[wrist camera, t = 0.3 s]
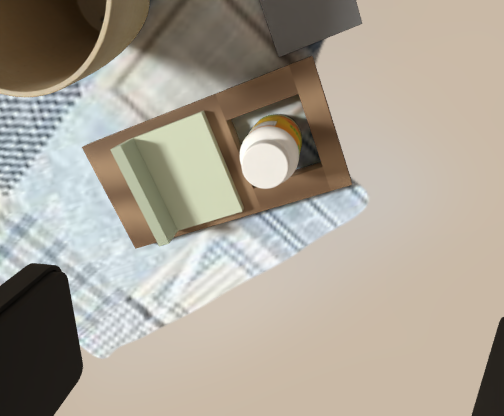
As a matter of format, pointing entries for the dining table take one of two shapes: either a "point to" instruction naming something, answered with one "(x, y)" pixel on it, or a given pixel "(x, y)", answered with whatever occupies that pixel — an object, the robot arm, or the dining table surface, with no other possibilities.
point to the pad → (307, 21)
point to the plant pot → (62, 41)
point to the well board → (236, 147)
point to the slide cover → (178, 176)
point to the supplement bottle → (271, 151)
